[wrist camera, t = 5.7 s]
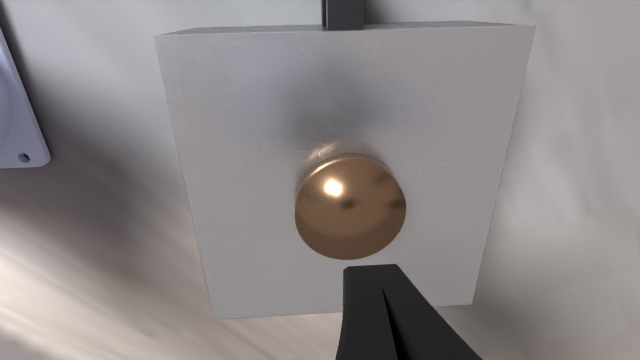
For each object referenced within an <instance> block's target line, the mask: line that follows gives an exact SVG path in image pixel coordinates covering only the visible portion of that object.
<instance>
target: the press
mask: <svg viewBox="0 0 640 360" xmlns="http://www.w3.org/2000/svg"><path fill="white" fill-rule="evenodd" d="M364 3H365V0H321V16H322V25H292V26H253V27H214V28H194V29H189V30H183V31H178V32H173V33H167V34H162V35H157V36H153V37H154V42H155V46H156V51H157V56H158V60H159V65H160V70H161V74H162V79H163V84H164V88H165V93H166V98H167V102H168V107H169V112H170V116H171V121H172V125H173V130H174V135H175V139H176V144H177V149H178V153H179V158H180V163H181V167H182V172H183V177H184V181H185V186H186V191H187V195H188V200H189V205H190V209H191V214H192V219H193V223H194V228H195V233H196V237H197V242H198V246H199V251H200V256H201V260H202V265H203V270H204V274H205V279H206V284H207V288H208V293H209V298H210V302H211V307H212V312H213V316H214V320H216V319H233V318H250V317H267V316H284V315H301V314H318V313H335V312H343V270H344V269H345V268H347V267H348V266H364V265H382V264H397V265H398V266H399V267H400V268H401V270H402V271H403V272H404V273H405V275H406V276H407V277H408V278H409V279H410V281H411V282H412V283H413V284H414V286H415V287H416V288H417V289H418V290H419V292H420V293H421V294H422V295H423V296H424V297H425V299H426V300H427V301H428V302H429V303H430V304H431V306H432V307H436V306H453V305H470V304H472V302H473V297H474V293H475V289H476V284H477V280H478V276H479V271H480V267H481V263H482V258H483V254H484V250H485V245H486V241H487V237H488V232H489V228H490V224H491V219H492V215H493V210H494V206H495V202H496V197H497V193H498V189H499V184H500V180H501V176H502V171H503V167H504V163H505V158H506V154H507V150H508V145H509V141H510V137H511V132H512V128H513V124H514V119H515V115H516V111H517V106H518V102H519V98H520V93H521V89H522V85H523V80H524V76H525V72H526V67H527V63H528V59H529V54H530V50H531V45H532V41H533V37H534V32H535V28H536V26H529V25H515V24H501V23H488V22H474V21H447V22H408V23H369V24H364ZM341 153H359V154H364V155H368V156H370V157H373V158H375V159H377V160H379V161H380V162H382V163H383V164H384V165H385V166H386V167H387V168H388V169H389V170H390V171H391V172H392V174H393V175H394V177H395V179H396V180H397V182H398V184H399V186H400V187H401V189H402V192H403V194H404V197H405V200H406V216H405V221H404V224H403V226H402V228H401V230H400V232H399V233H398V235H397V236H396V237H395V239H394V240H393V241H392V242H391V243H390V244H389V245H388V246H386V247H385V248H384V249H382V250H380V251H379V252H377V253H375V254H373V255H370V256H368V257H364V258H360V259H355V260H338V259H333V258H329V257H326V256H323V255H321V254H319V253H317V252H315V251H314V250H312V249H311V248H310V247H309V246H308V245H307V244H306V243H305V242H304V241H303V240H302V238H301V237H300V235H299V233H298V231H297V228H296V224H295V195H296V190H297V187H298V185H299V183H300V181H301V179H302V177H303V176H304V174H305V173H306V172H307V171H308V170H309V169H310V168H311V167H312V166H313V165H315V164H316V163H318V162H319V161H321V160H323V159H325V158H327V157H330V156H333V155H336V154H341Z"/></svg>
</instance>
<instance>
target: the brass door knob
mask: <svg viewBox="0 0 640 360" xmlns="http://www.w3.org/2000/svg"><path fill="white" fill-rule="evenodd" d="M405 216H406V200H405V197H404V194H403V192H402V189H401V187H400V186H399V184H398V182H397V180H396V179H395V177H394V175H393V174H392V172H391V171H390V170H389V169H388V168H387V167H386V166H385V165H384V164H383V163H382V162H380V161H379V160H377V159H375V158H373V157H370V156H368V155H364V154H359V153H341V154H336V155H333V156H330V157H327V158H325V159H323V160H321V161H319V162H318V163H316V164H315V165H313V166H312V167H311V168H310V169H309V170H308V171H307V172H306V173H305V174H304V176H303V177H302V179H301V181H300V183H299V185H298V187H297V190H296V195H295V224H296V228H297V231H298V233H299V235H300V237H301V238H302V240H303V241H304V242H305V243H306V244H307V245H308V246H309V247H310V248H311V249H312V250H314V251H315V252H317V253H319V254H321V255H323V256H326V257H329V258H333V259H338V260H355V259H360V258H364V257H368V256H370V255H373V254H375V253H377V252H379V251H380V250H382V249H384V248H385V247H386V246H388V245H389V244H390V243H391V242H392V241H393V240H394V239H395V237H396V236H397V235H398V233H399V232H400V230H401V228H402V226H403V224H404V221H405Z"/></svg>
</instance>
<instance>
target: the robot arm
mask: <svg viewBox="0 0 640 360" xmlns="http://www.w3.org/2000/svg"><path fill="white" fill-rule="evenodd" d="M24 154H26V155H28V156H29V158H30V160H28V159H27V158H26V157H25V156H24ZM50 159H51V158H50V153H49V151H48V148H47V146H46V143H45V141H44V138H43V135H42V133H41V130H40V128H39V125H38V123H37V120H36V117H35V115H34V112H33V110H32V107H31V105H30V102H29V100H28V97H27V94H26V92H25V89H24V87H23V84H22V82H21V79H20V76H19V74H18V71H17V69H16V66H15V64H14V61H13V58H12V56H11V53H10V51H9V48H8V46H7V43H6V41H5V38H4V35H3V33H2V30H1V28H0V169H2V168H26V167H41V166H44V165H46V164H47V163H48V162H50ZM335 360H482V359H481V358H480V357H479V356H478V355H477V354H476V353H475V352H474V351H473V350H472V349H471V348H470V347H469V346H468V345H467V344H466V342H465V341H464V340H463V339H462V338H461V337H460V336H459V335H458V334H457V333H456V332H455V331H454V330H453V329H452V328H451V327H450V325H449V324H448V323H447V322H446V321H445V320H444V319H443V318H442V317H441V316H440V315H439V313H438V312H437V311H436V310H435V309H434V308H433V307H432V306H431V304H430V303H429V302H428V301H427V300H426V299H425V297H424V296H423V295H422V294H421V293H420V292H419V290H418V289H417V288H416V287H415V286H414V284H413V283H412V282H411V281H410V279H409V278H408V277H407V276H406V275H405V273H404V272H403V271H402V270H401V268H400V267H399V266H398V265H397V264H382V265H364V266H348V267H347V268H345V269H344V270H343V321H342V328H341V335H340V341H339V346H338V350H337V355H336V359H335Z"/></svg>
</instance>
